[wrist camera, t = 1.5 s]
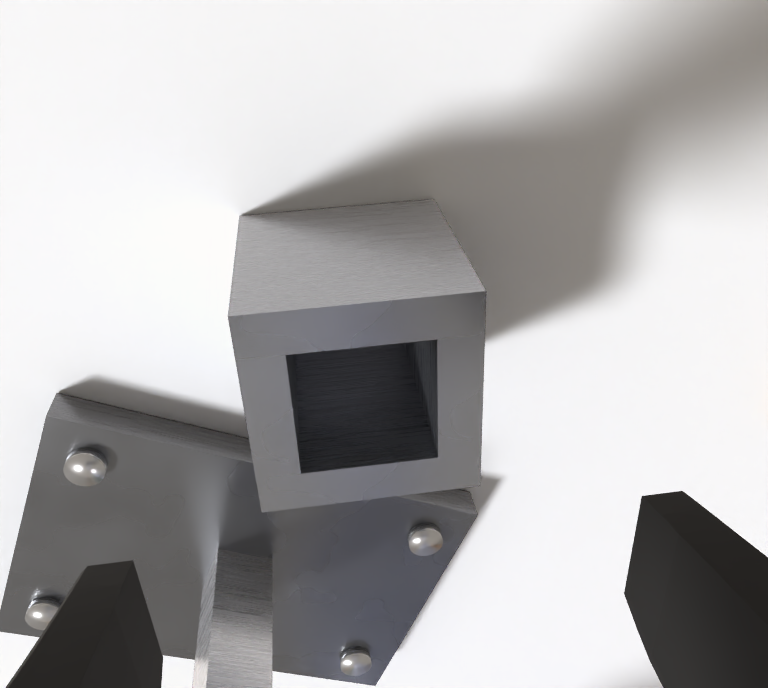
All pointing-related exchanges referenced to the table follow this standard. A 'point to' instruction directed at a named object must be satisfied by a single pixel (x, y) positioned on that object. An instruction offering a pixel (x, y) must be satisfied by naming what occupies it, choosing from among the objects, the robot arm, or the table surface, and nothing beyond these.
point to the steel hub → (358, 353)
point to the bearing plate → (224, 550)
